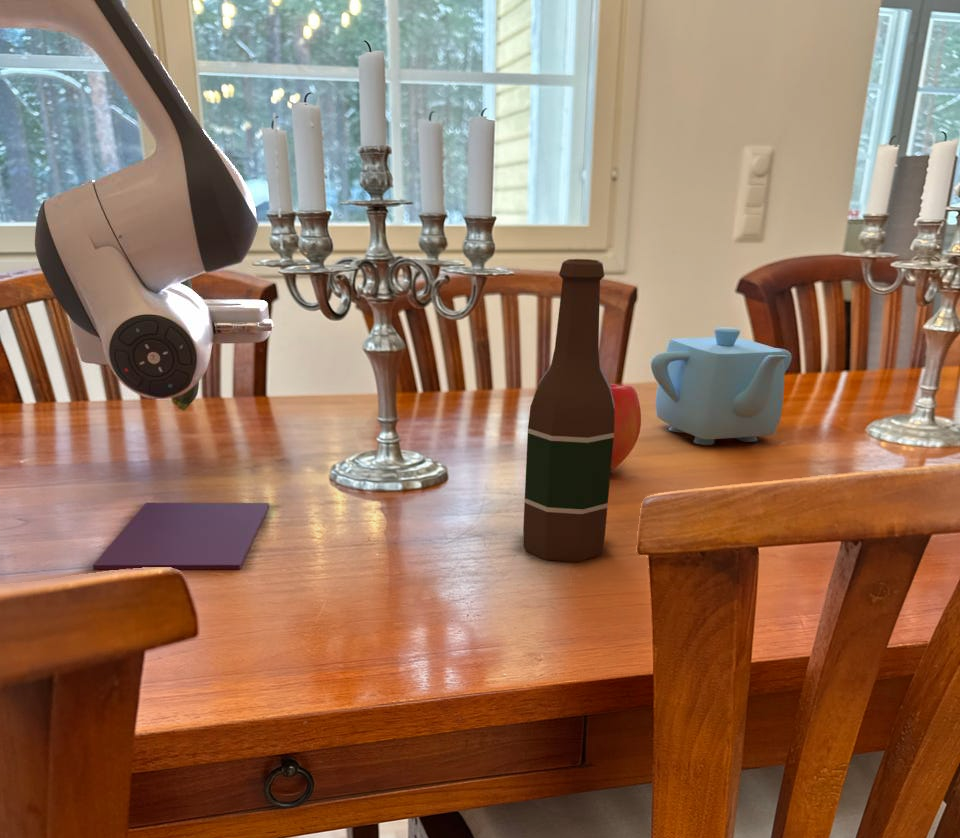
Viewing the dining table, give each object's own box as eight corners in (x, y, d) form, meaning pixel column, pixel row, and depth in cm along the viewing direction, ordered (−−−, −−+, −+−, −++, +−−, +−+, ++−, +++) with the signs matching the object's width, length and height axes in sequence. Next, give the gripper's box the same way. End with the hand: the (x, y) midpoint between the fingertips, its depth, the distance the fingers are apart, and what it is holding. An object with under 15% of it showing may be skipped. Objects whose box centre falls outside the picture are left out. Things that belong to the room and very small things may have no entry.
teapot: (628, 437, 116) (639, 328, 110) (675, 413, 129) (688, 315, 122) (767, 461, 108) (787, 345, 101) (804, 433, 120) (824, 328, 114)
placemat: (93, 569, 74) (92, 565, 74) (146, 506, 88) (145, 502, 88) (239, 569, 75) (239, 564, 75) (269, 506, 89) (268, 502, 89)
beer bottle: (543, 526, 86) (559, 254, 75) (619, 542, 82) (647, 260, 71) (505, 551, 80) (515, 260, 69) (585, 570, 76) (609, 266, 65)
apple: (653, 471, 103) (663, 383, 98) (602, 488, 97) (610, 395, 92) (587, 454, 109) (594, 369, 104) (536, 469, 103) (540, 380, 98)
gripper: (272, 295, 89) (268, 281, 101) (52, 294, 85) (75, 279, 97) (276, 360, 92) (272, 339, 104) (64, 363, 88) (85, 340, 100)
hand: (176, 310), depth 101 cm, fingers closed on vegetable, 4 cm apart
